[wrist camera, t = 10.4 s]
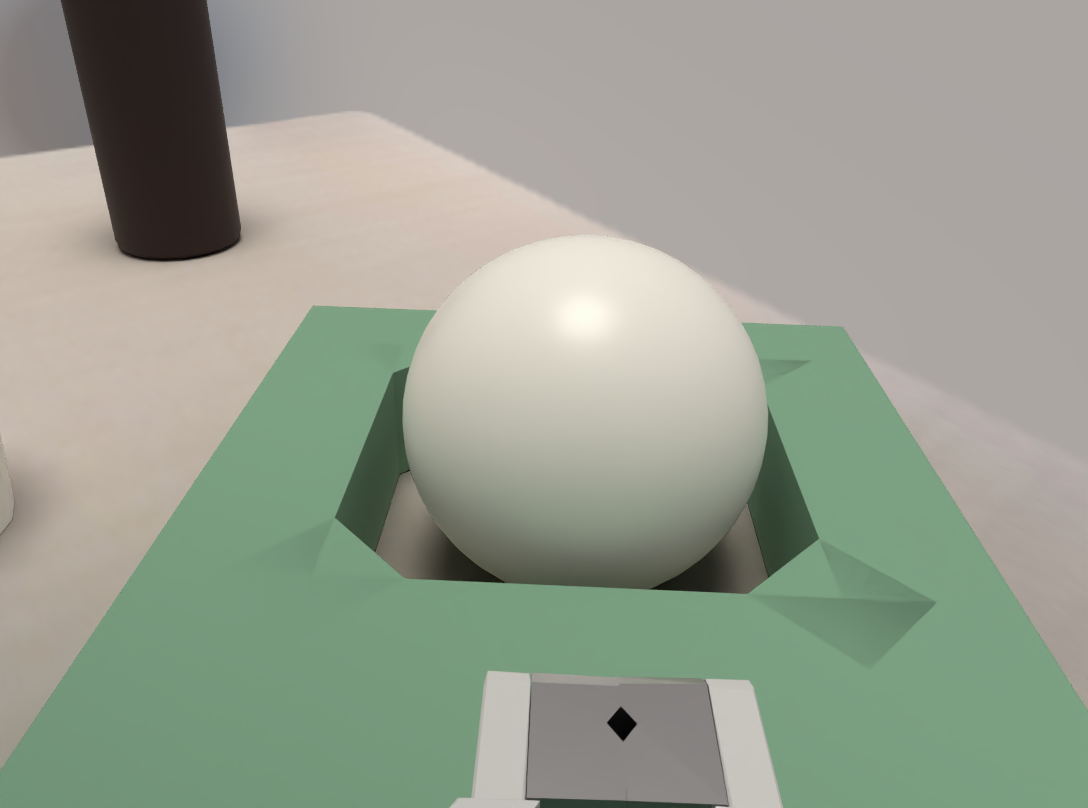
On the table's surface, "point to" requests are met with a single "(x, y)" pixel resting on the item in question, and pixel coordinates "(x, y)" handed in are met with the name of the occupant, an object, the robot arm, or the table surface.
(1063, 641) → the table surface
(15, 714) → the table surface
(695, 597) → the green cutout tray
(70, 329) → the table surface
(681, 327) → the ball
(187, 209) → the bottle
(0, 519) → the white cup
